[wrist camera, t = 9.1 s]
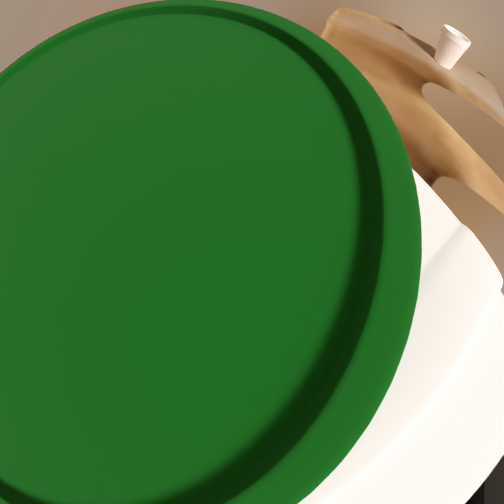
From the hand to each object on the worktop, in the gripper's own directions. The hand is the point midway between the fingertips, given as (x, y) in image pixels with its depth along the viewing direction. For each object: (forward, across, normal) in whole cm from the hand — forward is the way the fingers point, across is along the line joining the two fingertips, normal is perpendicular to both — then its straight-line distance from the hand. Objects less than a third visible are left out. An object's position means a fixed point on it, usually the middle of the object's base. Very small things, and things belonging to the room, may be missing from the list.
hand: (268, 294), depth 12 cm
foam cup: (+73, +38, +43) cm, 93 cm away
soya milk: (+4, 0, -9) cm, 10 cm away
